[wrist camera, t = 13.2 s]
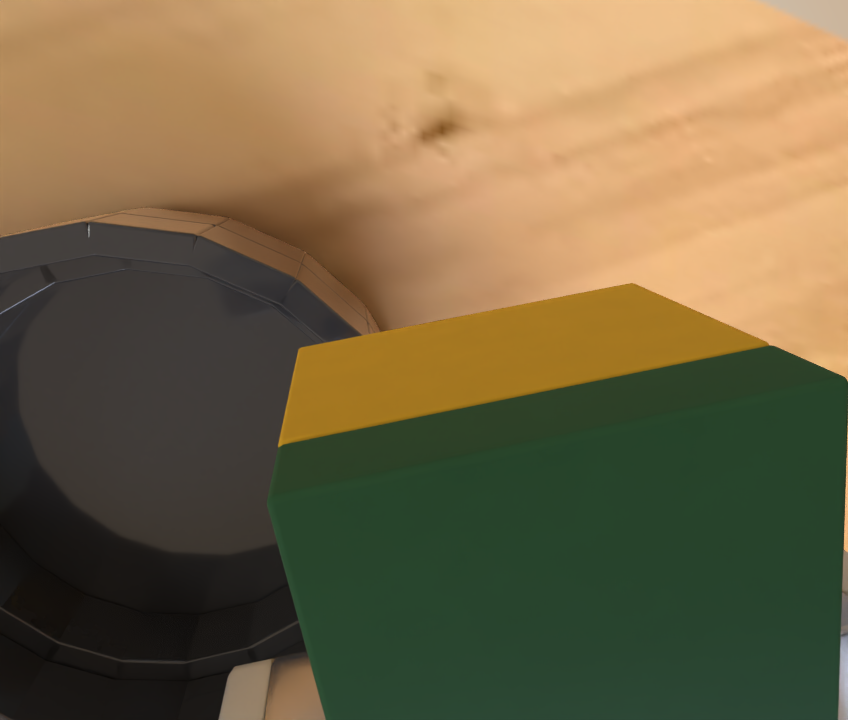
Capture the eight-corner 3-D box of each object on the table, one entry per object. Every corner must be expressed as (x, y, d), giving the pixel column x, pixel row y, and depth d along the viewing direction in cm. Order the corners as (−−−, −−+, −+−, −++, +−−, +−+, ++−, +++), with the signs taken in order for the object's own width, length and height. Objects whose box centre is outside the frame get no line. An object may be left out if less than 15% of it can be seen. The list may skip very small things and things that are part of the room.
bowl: (-154, 262, 20) (-329, 299, 15) (361, 165, 21) (368, 167, 16) (31, 678, 25) (-52, 817, 19) (444, 583, 26) (471, 691, 20)
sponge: (296, 347, 9) (263, 499, 5) (634, 281, 9) (854, 377, 5) (394, 759, 11) (424, 1087, 7) (663, 695, 11) (832, 978, 7)
